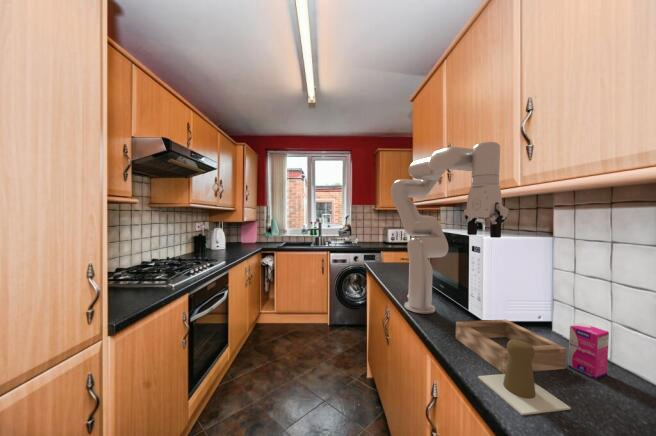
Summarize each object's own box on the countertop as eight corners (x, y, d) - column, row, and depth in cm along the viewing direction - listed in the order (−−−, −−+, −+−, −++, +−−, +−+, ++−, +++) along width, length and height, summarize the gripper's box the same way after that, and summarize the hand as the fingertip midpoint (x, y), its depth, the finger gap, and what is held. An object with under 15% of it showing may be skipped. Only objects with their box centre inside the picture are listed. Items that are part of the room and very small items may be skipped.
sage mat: (477, 377, 64) (477, 376, 64) (519, 374, 66) (519, 372, 66) (521, 415, 52) (521, 413, 52) (570, 409, 54) (570, 407, 54)
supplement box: (567, 366, 70) (568, 325, 69) (579, 362, 72) (581, 322, 71) (595, 379, 64) (597, 334, 64) (608, 374, 66) (609, 331, 66)
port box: (455, 338, 84) (455, 321, 84) (505, 335, 87) (505, 319, 87) (504, 374, 65) (504, 352, 65) (565, 368, 69) (566, 348, 68)
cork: (536, 402, 55) (538, 352, 55) (502, 390, 59) (504, 343, 58) (535, 388, 60) (536, 341, 59) (503, 377, 63) (505, 333, 63)
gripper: (456, 185, 89) (454, 233, 89) (496, 178, 72) (494, 238, 72) (475, 185, 90) (473, 234, 90) (519, 179, 73) (517, 238, 73)
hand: (483, 236), depth 81 cm, fingers open, 9 cm apart
